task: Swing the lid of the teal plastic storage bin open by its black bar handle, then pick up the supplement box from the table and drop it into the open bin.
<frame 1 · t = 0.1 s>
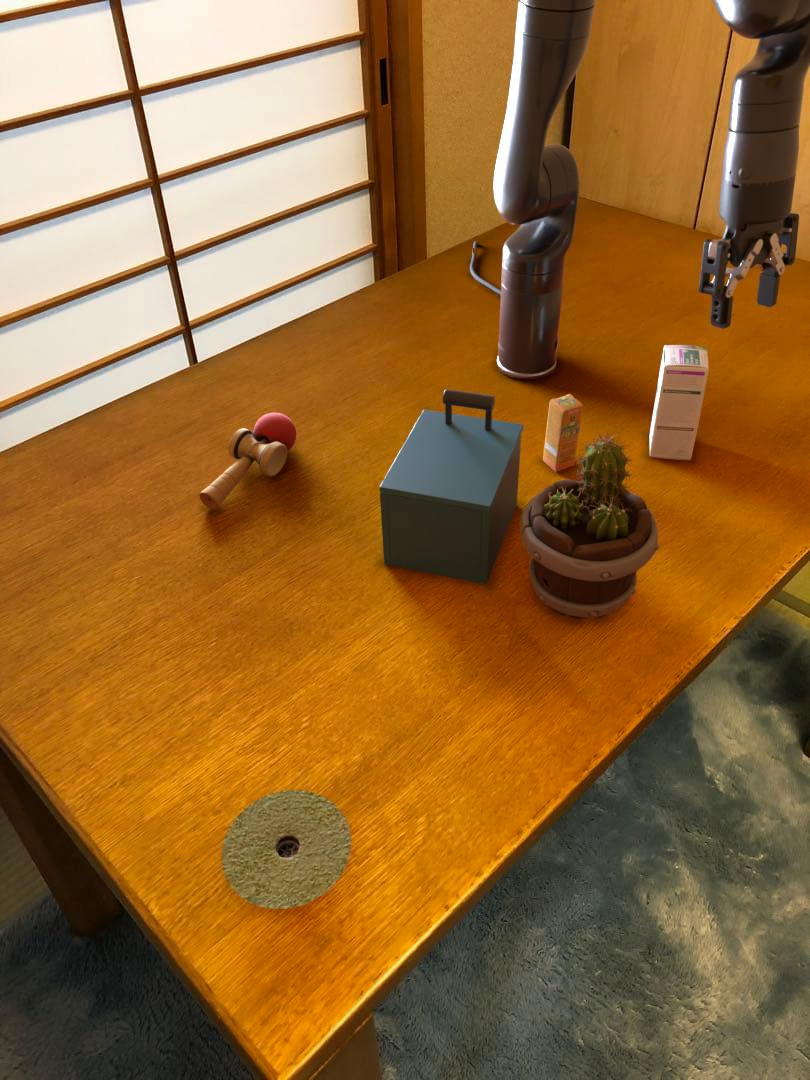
hand: (743, 315, 104), 22 cm above the table, tool pointing down, fingers open, 8 cm apart
syrup box: (668, 449, 123), on the table
flowerpot: (580, 591, 102), on the table
mat: (289, 858, 77), on the table
kendama: (252, 476, 121), on the table
bin: (452, 533, 110), on the table
lid: (454, 440, 101), point 14 cm above the table, hinge at 0.0°
supplement box: (559, 465, 121), on the table
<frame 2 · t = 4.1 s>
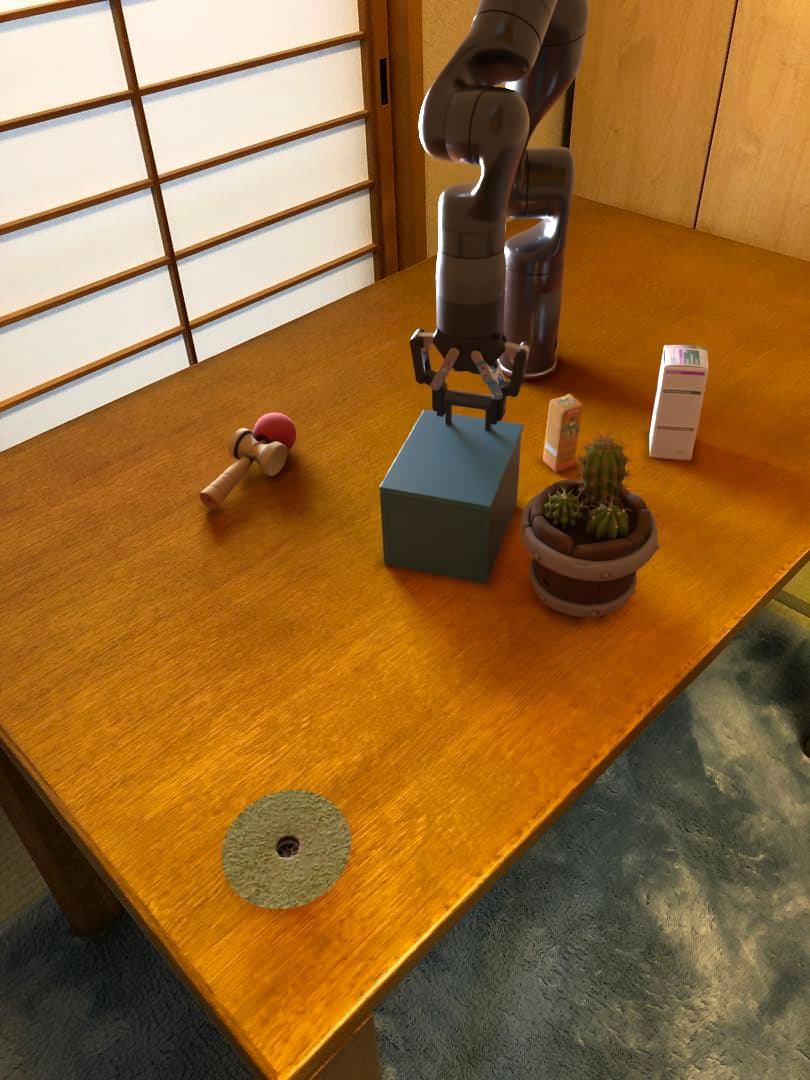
hand: (468, 416, 106), 13 cm above the table, tool pointing down, fingers closed on lid, 6 cm apart
lid: (454, 440, 101), point 14 cm above the table, hinge at -0.1°, touching gripper
everything else where it was.
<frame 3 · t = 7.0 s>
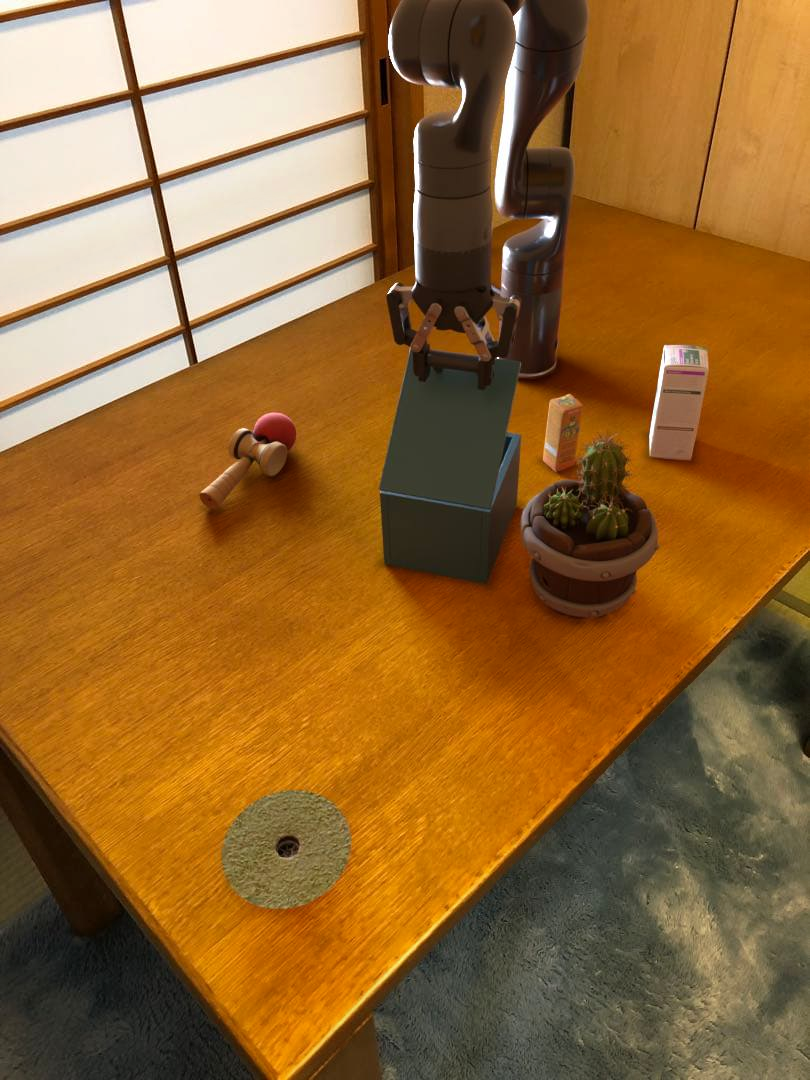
hand: (453, 381, 96), 22 cm above the table, tool pointing down, fingers closed on lid, 6 cm apart
lid: (445, 420, 96), point 19 cm above the table, hinge at 41.4°, touching gripper
everything else where it was.
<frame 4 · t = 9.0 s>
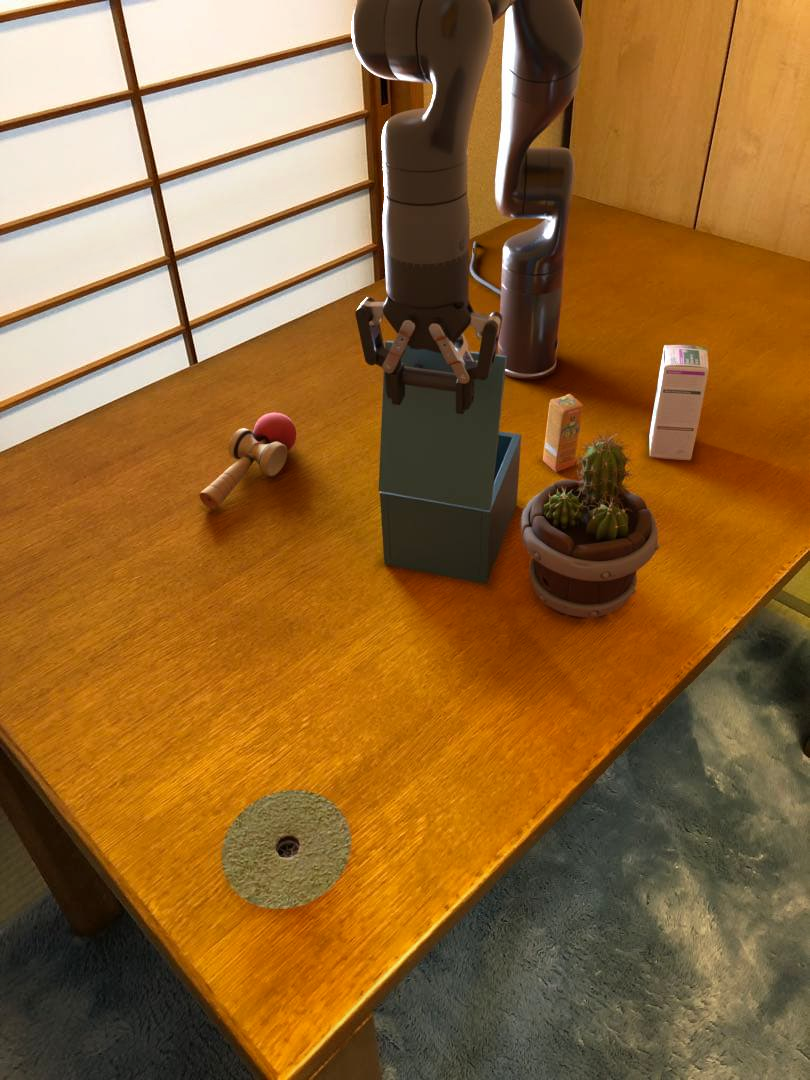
hand: (429, 404, 88), 24 cm above the table, tool pointing down, fingers closed on lid, 6 cm apart
lid: (433, 433, 91), point 20 cm above the table, hinge at 74.4°, touching gripper
everything else where it was.
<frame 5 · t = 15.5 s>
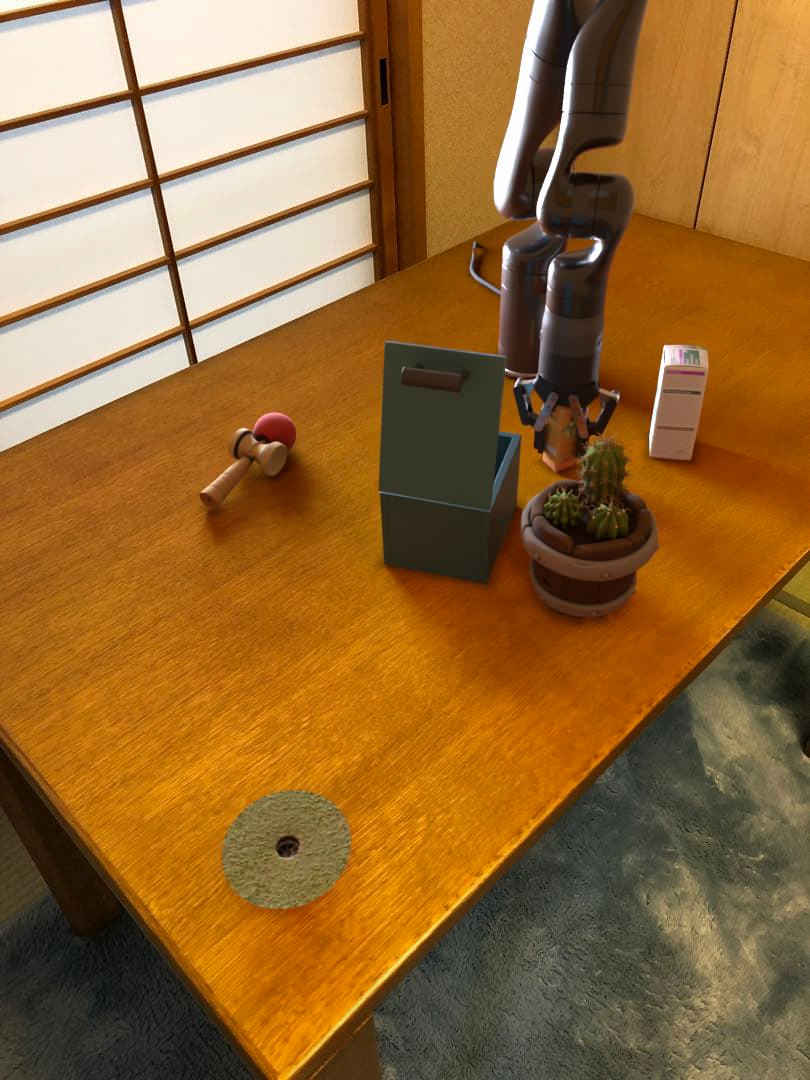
hand: (559, 452, 119), 2 cm above the table, tool pointing down, fingers closed on supplement box, 4 cm apart
lid: (433, 433, 91), point 20 cm above the table, hinge at 74.8°
supplement box: (559, 465, 121), on the table, touching gripper
everything else where it was.
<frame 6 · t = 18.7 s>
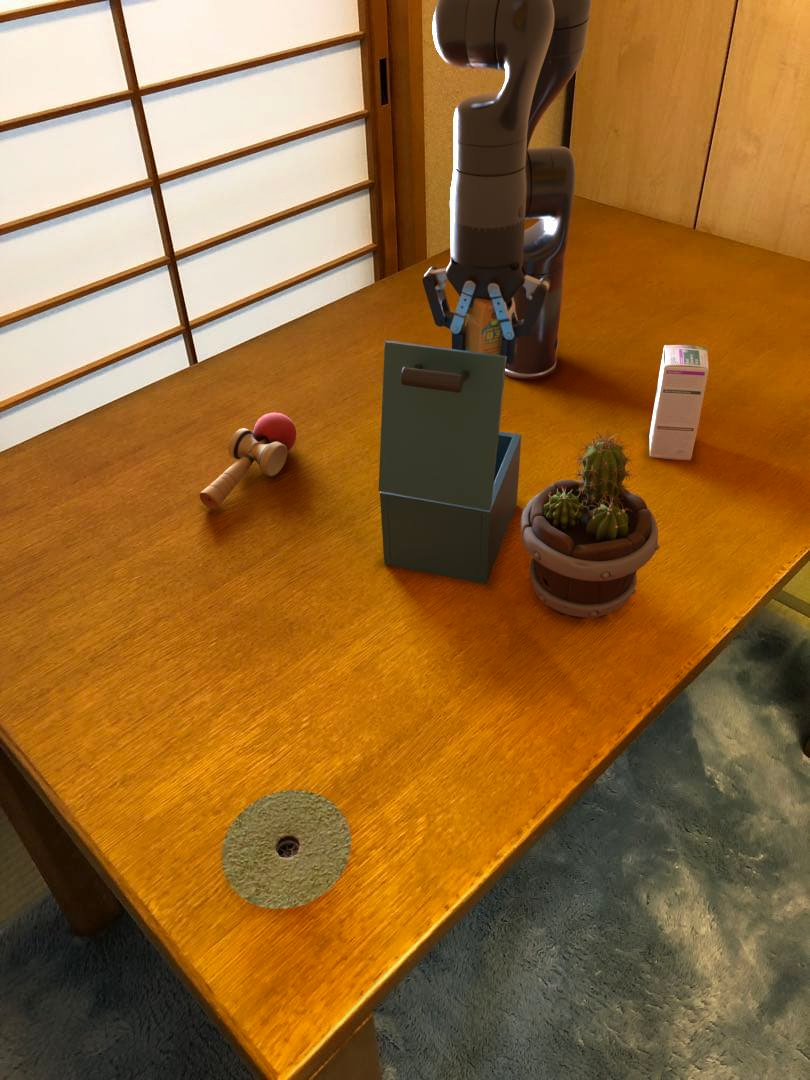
hand: (483, 361, 99), 22 cm above the table, tool pointing down, fingers closed on supplement box, 4 cm apart
supplement box: (483, 377, 101), point 19 cm above the table, touching gripper
everything else where it was.
when the fingers open (10 cm above the table, at t = 22.2 s): supplement box drops 7 cm, resting on bin.
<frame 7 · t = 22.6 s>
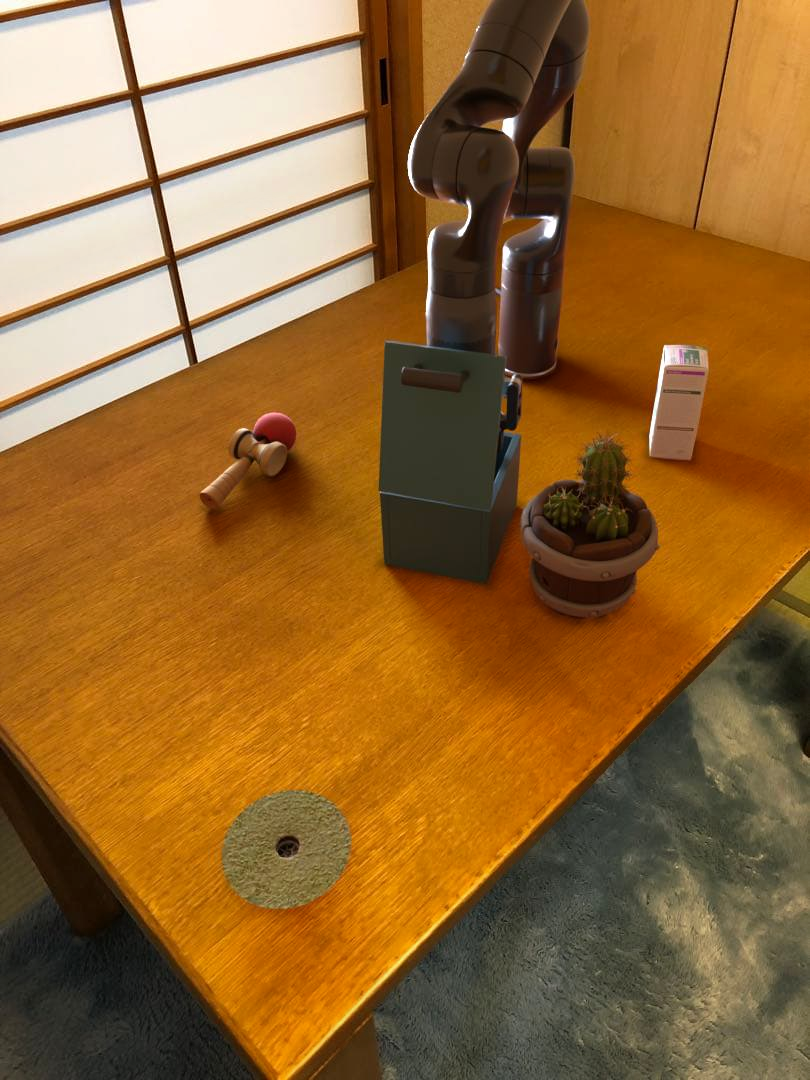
hand: (459, 448, 105), 11 cm above the table, tool pointing down, fingers open, 7 cm apart
supplement box: (462, 514, 112), point 1 cm above the table, touching bin
everything else where it was.
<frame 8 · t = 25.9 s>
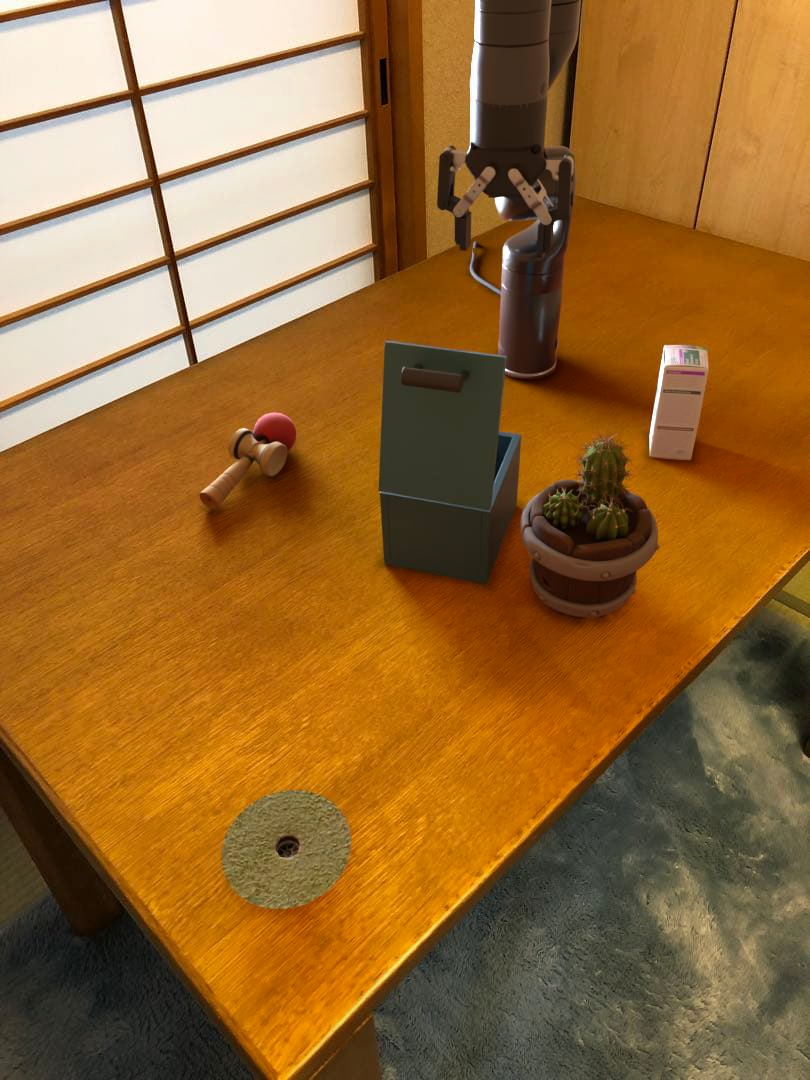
hand: (502, 251, 96), 32 cm above the table, tool pointing down, fingers open, 8 cm apart
nothing on the table moved.
at the end: lid at +75° (first picture: +0°); supplement box 3.1 cm from the bin (horizontally); supplement box touching bin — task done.
